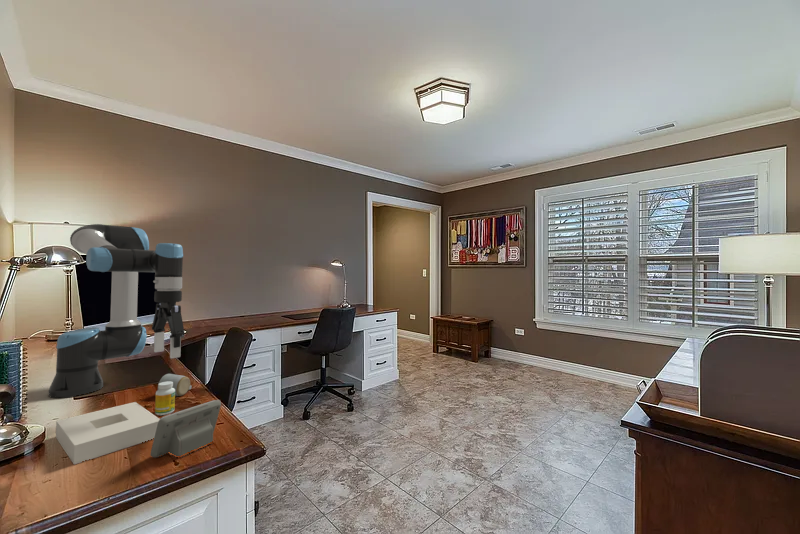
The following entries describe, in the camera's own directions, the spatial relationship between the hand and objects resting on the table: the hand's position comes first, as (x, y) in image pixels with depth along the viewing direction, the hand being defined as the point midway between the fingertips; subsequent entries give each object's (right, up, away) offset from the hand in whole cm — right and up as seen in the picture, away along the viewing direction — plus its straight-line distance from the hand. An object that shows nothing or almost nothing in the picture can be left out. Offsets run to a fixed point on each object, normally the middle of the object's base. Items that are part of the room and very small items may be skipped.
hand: (166, 354), depth 113 cm
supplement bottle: (0, -19, 0) cm, 19 cm away
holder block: (-4, -19, -17) cm, 26 cm away
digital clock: (+21, -19, -22) cm, 36 cm away
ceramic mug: (-8, -20, +17) cm, 27 cm away
